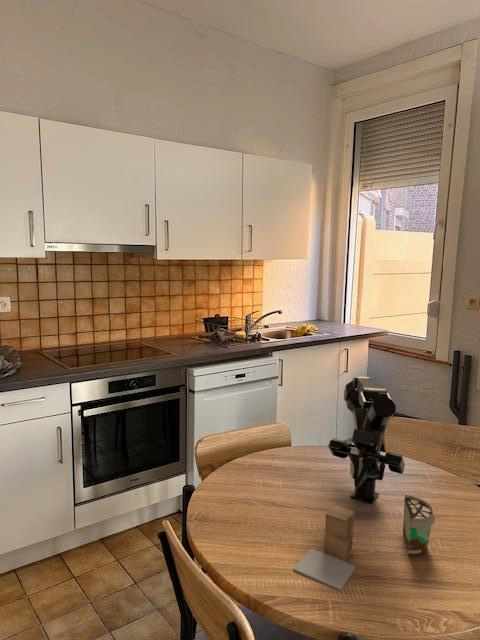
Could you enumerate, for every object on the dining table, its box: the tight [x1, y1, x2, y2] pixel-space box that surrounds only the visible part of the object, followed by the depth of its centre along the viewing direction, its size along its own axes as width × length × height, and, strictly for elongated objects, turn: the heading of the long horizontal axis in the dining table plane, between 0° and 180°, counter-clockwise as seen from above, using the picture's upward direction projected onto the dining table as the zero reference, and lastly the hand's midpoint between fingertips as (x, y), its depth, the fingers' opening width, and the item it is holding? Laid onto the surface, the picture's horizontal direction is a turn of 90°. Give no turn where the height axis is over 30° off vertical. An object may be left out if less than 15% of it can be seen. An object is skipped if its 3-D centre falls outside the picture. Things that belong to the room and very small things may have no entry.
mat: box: [293, 548, 357, 591], centre depth 105 cm, size 9×11×1 cm
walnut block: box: [323, 504, 355, 562], centre depth 111 cm, size 5×5×10 cm
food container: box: [402, 494, 436, 558], centre depth 114 cm, size 12×6×10 cm, turn 168°
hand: (356, 486), depth 118 cm, fingers closed
